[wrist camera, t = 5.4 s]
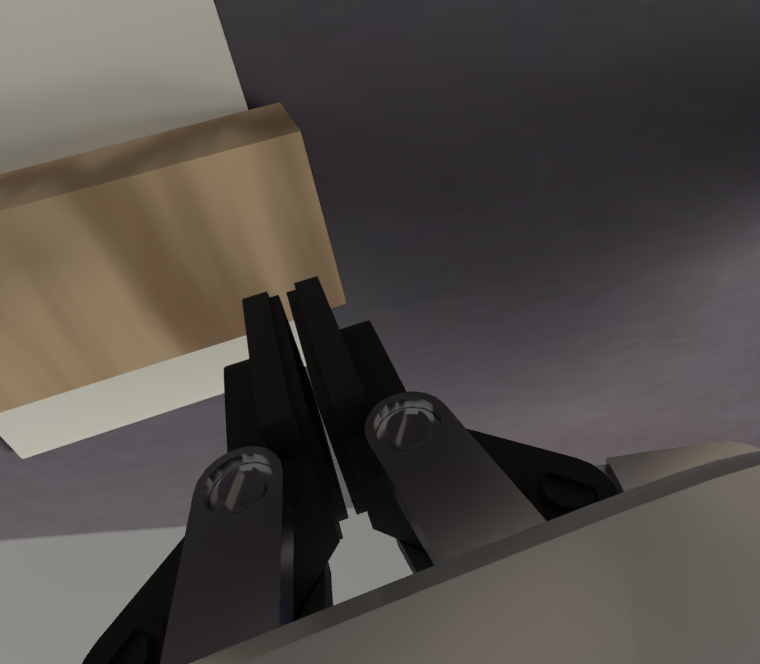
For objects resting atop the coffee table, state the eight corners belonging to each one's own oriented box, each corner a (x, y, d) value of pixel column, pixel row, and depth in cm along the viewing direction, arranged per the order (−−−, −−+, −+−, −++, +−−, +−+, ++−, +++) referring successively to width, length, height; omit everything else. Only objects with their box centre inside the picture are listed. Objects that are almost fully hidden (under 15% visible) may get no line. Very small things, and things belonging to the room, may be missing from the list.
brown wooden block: (300, 131, 14) (-197, 263, 12) (346, 303, 18) (-35, 423, 16) (279, 101, 18) (-99, 199, 16) (320, 247, 22) (13, 339, 20)
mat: (179, -105, 15) (178, -108, 14) (325, 352, 25) (327, 358, 25) (-389, 8, 13) (-412, 8, 12) (26, 449, 24) (22, 459, 23)
